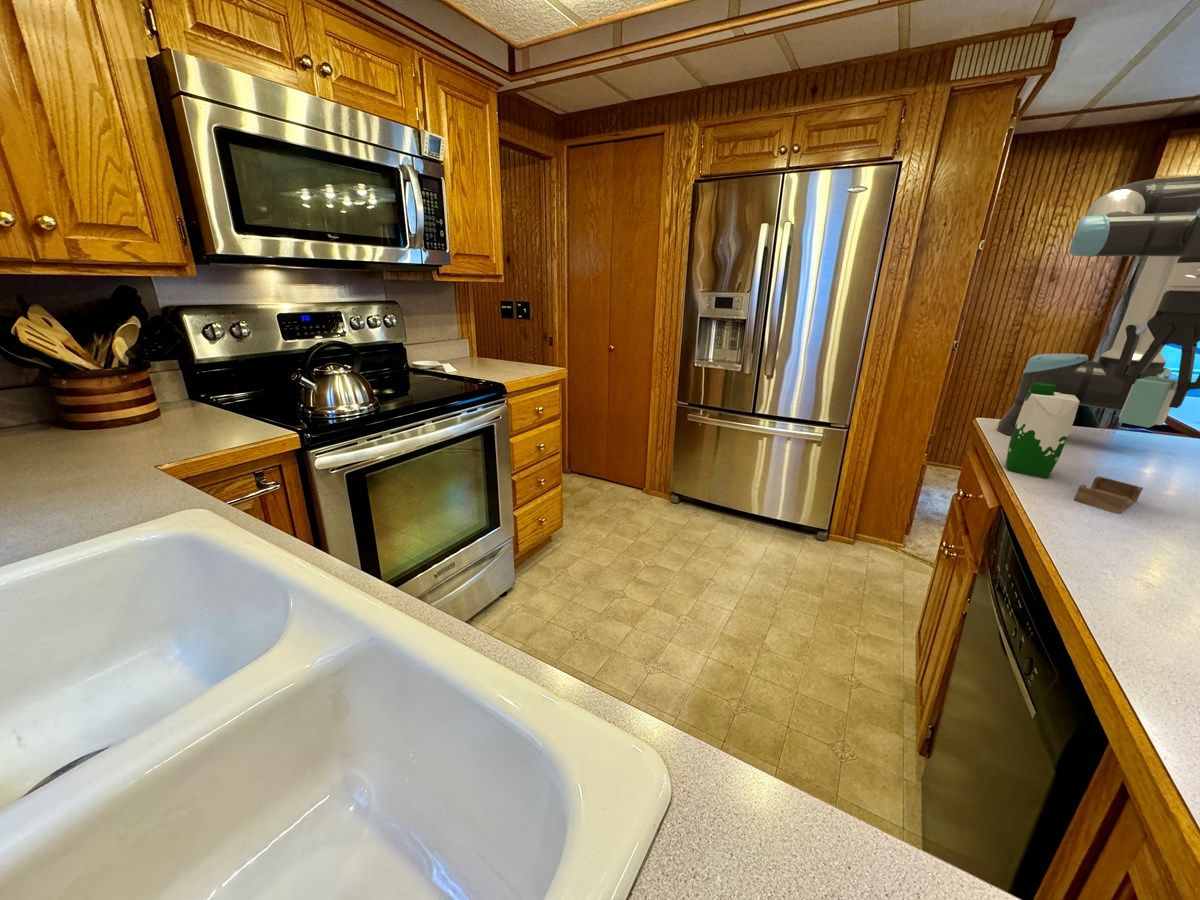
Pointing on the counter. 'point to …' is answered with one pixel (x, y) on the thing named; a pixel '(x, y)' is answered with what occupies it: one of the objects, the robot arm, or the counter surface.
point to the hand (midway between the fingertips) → (1140, 420)
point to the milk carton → (1041, 430)
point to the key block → (1146, 400)
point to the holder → (1108, 494)
